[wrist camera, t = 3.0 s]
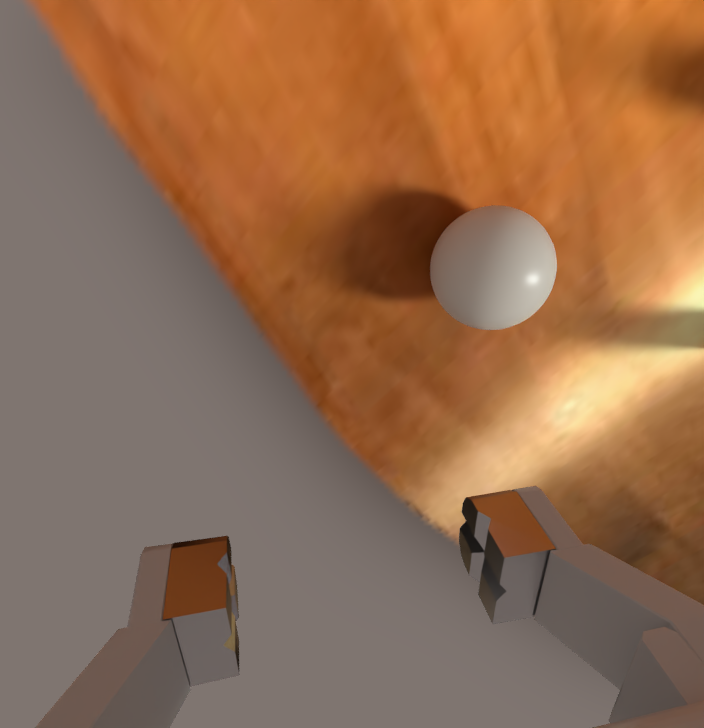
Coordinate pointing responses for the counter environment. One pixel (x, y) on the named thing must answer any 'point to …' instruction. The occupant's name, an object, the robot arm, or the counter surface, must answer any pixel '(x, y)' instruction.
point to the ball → (493, 267)
